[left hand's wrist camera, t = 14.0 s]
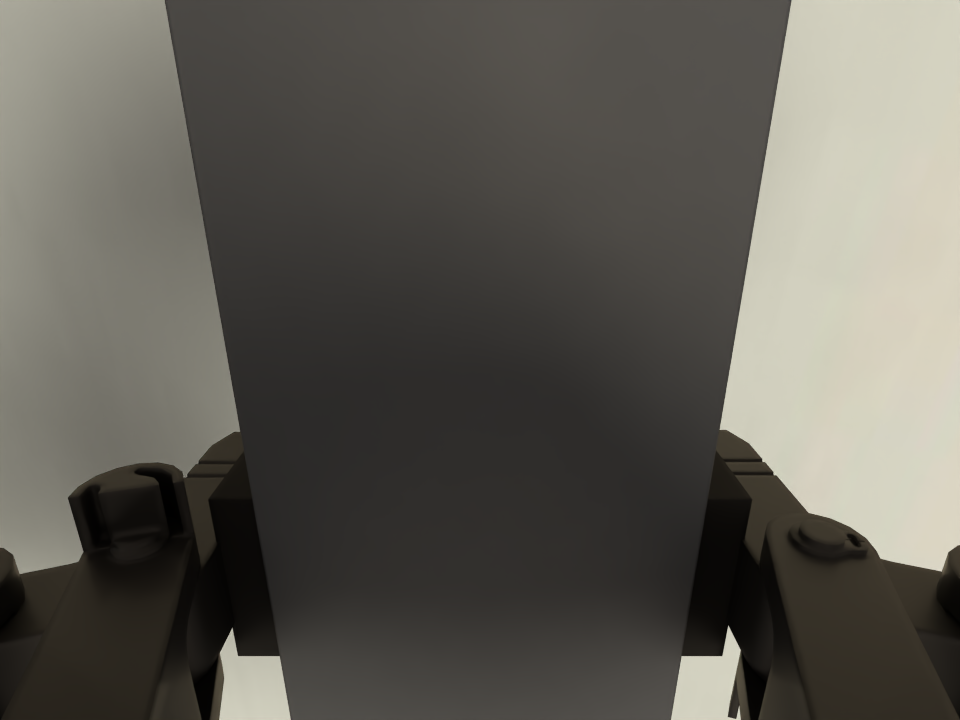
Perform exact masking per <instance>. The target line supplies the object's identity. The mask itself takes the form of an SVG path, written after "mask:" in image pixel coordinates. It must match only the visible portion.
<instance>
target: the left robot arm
mask: <svg viewBox="0 0 960 720" xmlns="http://www.w3.org/2000/svg"><path fill="white" fill-rule="evenodd" d="M187 475H188V476H187V478H183V473H182V471H180V470H179V469H177V468H176V467H175V466H173V465H168V464H163V463H139V464H134V465H130V466H125V467H120V468H116V469H114V470H111V471H108V472H106V473H103V474H100V475H98V476H96V477H94V478H92V479H90V480H89V481H87V482H85V483H84V484H82V485H80V486H79V487H78V488H77V489H76V490H75V491H74V492H73V493H72V494H71V495H70V496H69V497H68V500H69V503H70V507H71V510H72V513H73V517H74V520H75V524H76V527H77V531H78V534H79V537H80V541H81V544H82V548H83V551H84V552H83V554H82V556H81V558H80V560H79V562H76V563H72V564H68V565H63V566H58V567H53V568H48V569H43V570H38V571H33V572H28V573H23V574H19V571H18V568H17V565H16V562H15V559H14V557H13V555H12V554H11V553H9V552H8V551H7V550H5V549H4V548H0V720H219V716H220V708H221V700H222V691H223V683H224V674H223V667H222V662H221V657H220V651H221V649H222V647H223V645H224V643H225V641H226V639H227V637H228V635H229V633H230V631H231V629H232V627H233V632H234V637H235V642H236V647H237V652H238V656H280V654H279V648H278V642H277V637H276V631H275V625H274V620H273V614H272V608H271V603H270V597H269V591H268V585H267V580H266V574H265V568H264V563H263V557H262V551H261V546H260V540H259V534H258V528H257V523H256V517H255V511H254V506H253V500H252V494H251V489H250V483H249V477H248V471H247V466H246V460H245V454H244V449H243V443H242V437H241V432H233V433H232V434H230V435H228V436H227V437H225V438H223V439H222V440H220V441H219V442H217V443H215V444H214V445H212V446H211V447H210V448H209V450H208V451H207V452H206V453H205V454H204V455H203V457H202V458H201V459H200V460H199V464H196V465H195V466H194V467H193V468H192V469H191V471H190V472H189V473H188V474H187ZM728 625H729V627H730V629H731V631H732V633H733V635H734V637H735V639H736V641H737V643H738V645H739V647H740V649H741V652H740V657H739V662H738V666H737V671H736V676H735V681H734V686H733V691H732V695H731V700H730V706H729V712H728V717H731V718H735V719H736V717H737V713H738V708H739V706H740V714H741V720H960V545H959V546H957V547H955V548H954V549H952V550H951V551H950V552H948V555H947V558H946V561H945V564H944V567H943V570H942V572H940V571H935V570H930V569H925V568H920V567H915V566H910V565H905V564H900V563H895V562H891V561H887V560H883V559H880V557H879V555H878V553H877V551H876V550H875V549H874V547H873V546H872V545H871V544H870V542H869V541H868V540H867V539H866V538H865V537H863V536H862V535H861V534H859V533H858V532H856V531H855V530H853V529H852V528H851V527H849V526H846V525H844V524H842V523H839V522H837V521H835V520H833V519H830V518H827V517H823V516H818V515H814V514H810V513H808V512H807V511H806V510H805V508H804V507H803V506H802V505H801V504H800V503H799V501H798V500H797V499H796V498H795V497H794V496H793V494H792V493H791V492H790V491H789V490H788V489H787V487H786V486H785V485H784V484H783V483H782V482H781V480H780V479H779V478H778V477H777V476H776V475H773V471H772V470H771V469H770V468H769V466H768V465H767V464H766V463H765V462H762V458H761V457H760V456H759V455H758V454H757V452H756V451H755V450H754V449H753V448H752V447H751V445H750V444H749V443H747V442H746V441H744V440H742V439H741V438H739V437H737V436H735V435H734V434H732V433H730V432H729V431H727V430H719V435H718V441H717V447H716V453H715V459H714V465H713V471H712V477H711V483H710V489H709V495H708V501H707V507H706V513H705V519H704V525H703V531H702V536H701V542H700V548H699V554H698V560H697V566H696V572H695V578H694V584H693V590H692V596H691V602H690V608H689V614H688V620H687V626H686V632H685V638H684V644H683V650H682V656H722V655H723V649H724V644H725V639H726V634H727V629H728Z"/></svg>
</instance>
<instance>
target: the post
mask: <svg viewBox="0 0 960 720" xmlns="http://www.w3.org/2000/svg"><path fill="white" fill-rule="evenodd" d="M165 4H166V10H167V16H168V21H169V27H170V33H171V38H172V44H173V50H174V55H175V61H176V67H177V73H178V78H179V84H180V90H181V95H182V101H183V107H184V112H185V118H186V124H187V130H188V135H189V141H190V147H191V152H192V158H193V164H194V169H195V175H196V181H197V187H198V192H199V198H200V204H201V209H202V215H203V221H204V226H205V232H206V238H207V244H208V249H209V255H210V261H211V266H212V272H213V278H214V283H215V289H216V295H217V301H218V306H219V312H220V318H221V323H222V329H223V335H224V340H225V346H226V352H227V357H228V363H229V369H230V375H231V380H232V386H233V392H234V397H235V403H236V409H237V414H238V420H239V426H240V432H241V437H242V443H243V449H244V454H245V460H246V466H247V471H248V477H249V483H250V489H251V494H252V500H253V506H254V511H255V517H256V523H257V528H258V534H259V540H260V546H261V551H262V557H263V563H264V568H265V574H266V580H267V585H268V591H269V597H270V603H271V608H272V614H273V620H274V625H275V631H276V637H277V642H278V648H279V654H280V660H281V665H282V671H283V677H284V682H285V688H286V694H287V699H288V705H289V711H290V716H291V720H671V715H672V709H673V703H674V697H675V692H676V686H677V680H678V674H679V668H680V662H681V656H682V650H683V644H684V638H685V632H686V626H687V620H688V614H689V608H690V602H691V596H692V590H693V584H694V578H695V572H696V566H697V560H698V554H699V548H700V542H701V536H702V531H703V525H704V519H705V513H706V507H707V501H708V495H709V489H710V483H711V477H712V471H713V465H714V459H715V453H716V447H717V441H718V435H719V429H720V423H721V417H722V411H723V405H724V399H725V393H726V387H727V381H728V376H729V370H730V364H731V358H732V352H733V346H734V340H735V334H736V328H737V322H738V316H739V310H740V304H741V298H742V292H743V286H744V280H745V274H746V268H747V262H748V256H749V250H750V244H751V238H752V232H753V226H754V220H755V215H756V209H757V203H758V197H759V191H760V185H761V179H762V173H763V167H764V161H765V155H766V149H767V143H768V137H769V131H770V125H771V119H772V113H773V107H774V101H775V95H776V89H777V83H778V77H779V71H780V65H781V60H782V54H783V48H784V42H785V36H786V30H787V24H788V18H789V12H790V6H791V0H165Z"/></svg>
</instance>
